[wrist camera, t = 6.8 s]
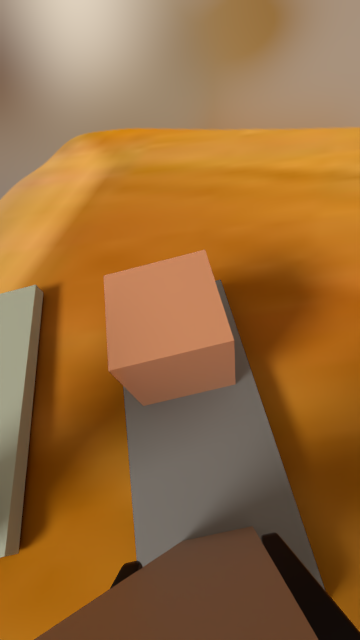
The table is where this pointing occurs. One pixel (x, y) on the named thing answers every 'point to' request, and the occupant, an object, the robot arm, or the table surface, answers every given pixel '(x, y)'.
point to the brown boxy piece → (203, 524)
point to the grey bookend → (16, 404)
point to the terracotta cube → (168, 330)
